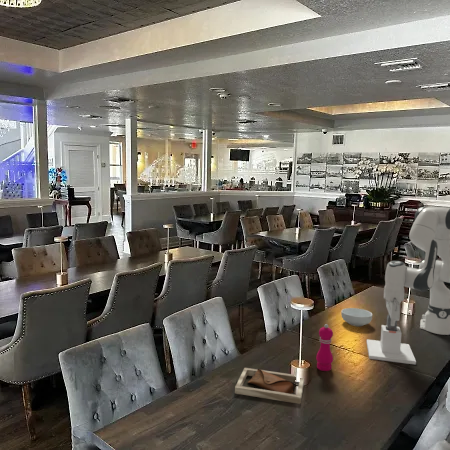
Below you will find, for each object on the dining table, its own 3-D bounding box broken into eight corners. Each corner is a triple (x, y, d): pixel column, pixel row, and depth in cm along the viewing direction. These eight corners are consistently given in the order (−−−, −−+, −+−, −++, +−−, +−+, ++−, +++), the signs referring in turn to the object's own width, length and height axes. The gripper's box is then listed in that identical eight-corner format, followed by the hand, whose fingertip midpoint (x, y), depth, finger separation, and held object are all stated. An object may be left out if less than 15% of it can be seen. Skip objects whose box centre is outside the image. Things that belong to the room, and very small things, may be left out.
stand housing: (366, 342, 211) (367, 318, 210) (408, 347, 206) (410, 323, 204) (369, 358, 192) (370, 333, 190) (415, 364, 187) (417, 338, 185)
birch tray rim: (244, 373, 175) (244, 367, 175) (304, 382, 169) (304, 376, 169) (234, 393, 159) (235, 387, 159) (300, 403, 153) (300, 397, 152)
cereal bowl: (374, 322, 240) (375, 311, 239) (367, 331, 226) (368, 319, 225) (345, 316, 249) (346, 305, 248) (337, 325, 235) (337, 313, 234)
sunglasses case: (245, 382, 166) (251, 365, 168) (254, 384, 171) (259, 368, 173) (284, 398, 155) (289, 380, 157) (292, 400, 160) (297, 383, 162)
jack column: (384, 346, 201) (386, 314, 199) (394, 347, 200) (396, 315, 198) (385, 349, 197) (387, 317, 195) (395, 351, 196) (397, 318, 194)
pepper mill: (332, 372, 178) (335, 327, 175) (315, 370, 179) (318, 326, 177) (332, 365, 185) (334, 322, 182) (315, 363, 186) (317, 320, 184)
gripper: (404, 302, 185) (402, 332, 186) (397, 290, 204) (395, 317, 206) (389, 301, 186) (387, 330, 188) (384, 289, 206) (382, 315, 208)
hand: (391, 323), depth 197 cm, fingers closed on jack column, 4 cm apart
